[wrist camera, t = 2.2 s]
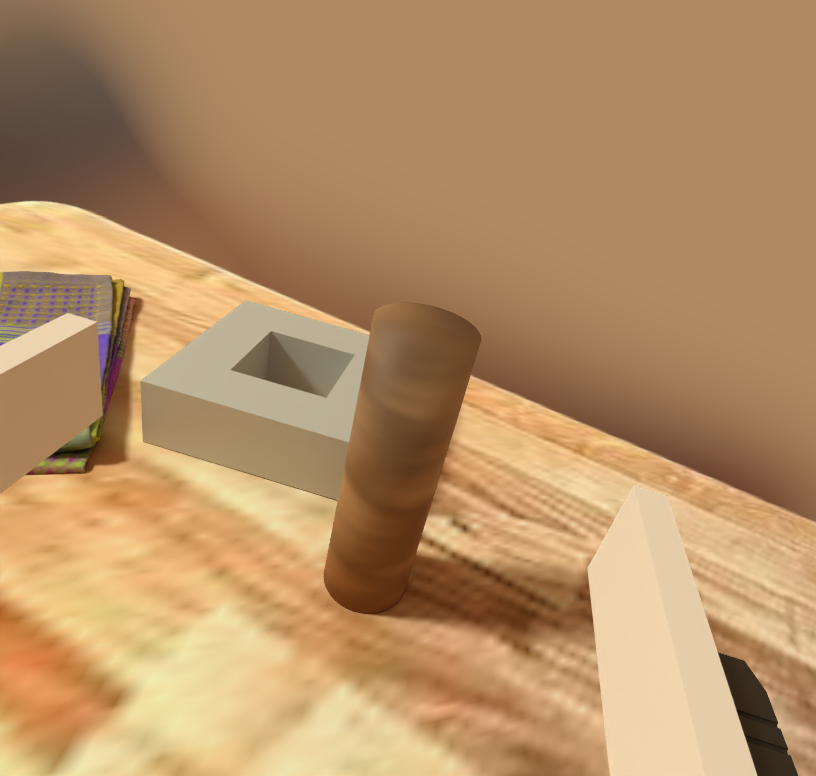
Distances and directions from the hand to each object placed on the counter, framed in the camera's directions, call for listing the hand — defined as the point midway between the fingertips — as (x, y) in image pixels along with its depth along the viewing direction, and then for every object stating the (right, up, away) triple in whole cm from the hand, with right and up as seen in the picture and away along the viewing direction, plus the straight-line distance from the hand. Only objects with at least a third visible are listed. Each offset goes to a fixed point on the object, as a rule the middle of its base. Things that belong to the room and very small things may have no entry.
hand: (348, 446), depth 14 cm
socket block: (-7, -1, +27) cm, 28 cm away
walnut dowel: (-1, -9, +17) cm, 19 cm away
